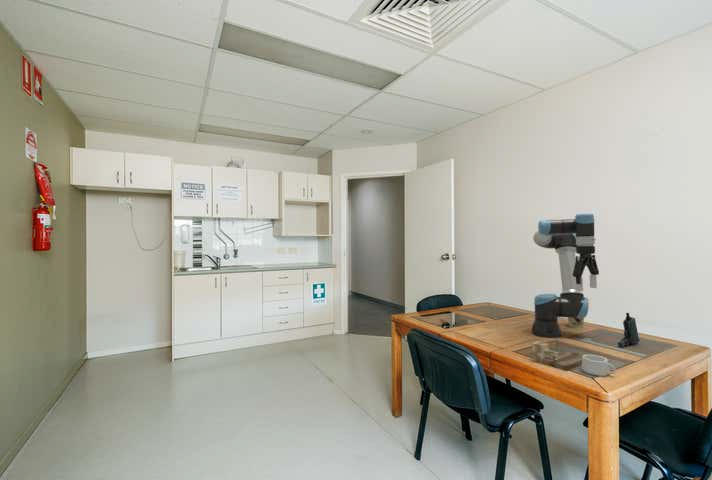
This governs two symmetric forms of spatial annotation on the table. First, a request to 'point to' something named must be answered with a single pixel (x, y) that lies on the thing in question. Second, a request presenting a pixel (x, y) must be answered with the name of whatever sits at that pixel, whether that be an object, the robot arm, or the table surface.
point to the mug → (596, 365)
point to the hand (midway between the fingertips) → (586, 289)
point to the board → (565, 360)
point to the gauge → (541, 351)
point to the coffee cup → (576, 322)
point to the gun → (629, 332)
